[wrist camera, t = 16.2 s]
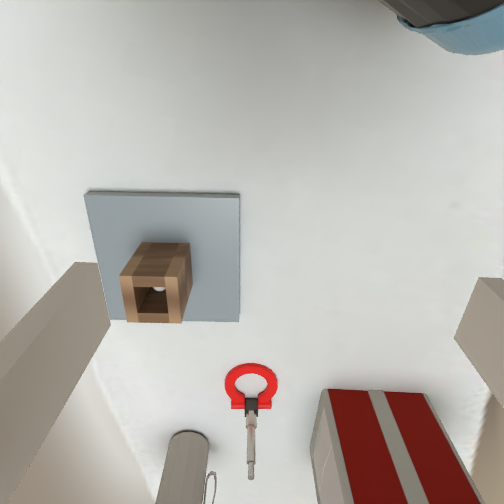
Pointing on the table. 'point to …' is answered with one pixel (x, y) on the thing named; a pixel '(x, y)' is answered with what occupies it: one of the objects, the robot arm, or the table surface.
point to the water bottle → (185, 470)
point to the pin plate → (171, 231)
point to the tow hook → (251, 403)
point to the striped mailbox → (385, 451)
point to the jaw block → (157, 283)
